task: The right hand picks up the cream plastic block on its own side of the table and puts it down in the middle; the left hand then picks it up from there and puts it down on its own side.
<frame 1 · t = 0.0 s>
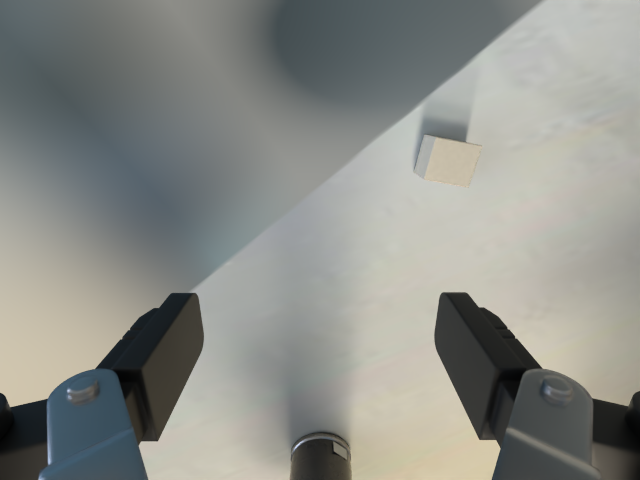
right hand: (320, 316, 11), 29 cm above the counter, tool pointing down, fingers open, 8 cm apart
block: (439, 157, 38), on the counter
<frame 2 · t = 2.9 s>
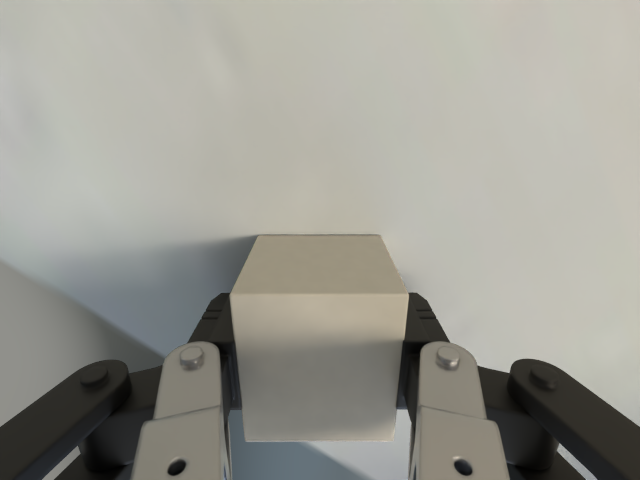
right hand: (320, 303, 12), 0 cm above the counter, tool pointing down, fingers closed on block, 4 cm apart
block: (319, 295, 13), on the counter, touching right hand
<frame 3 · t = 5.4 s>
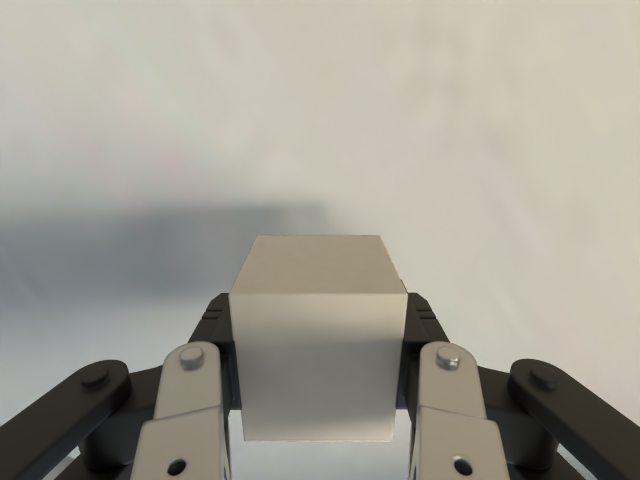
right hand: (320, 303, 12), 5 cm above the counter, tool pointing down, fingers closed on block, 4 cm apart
block: (318, 295, 13), point 5 cm above the counter, touching right hand
when the right hand's fingers open (1 cm above the counter, at t = 8.1 s): block stays where it is, on the counter.
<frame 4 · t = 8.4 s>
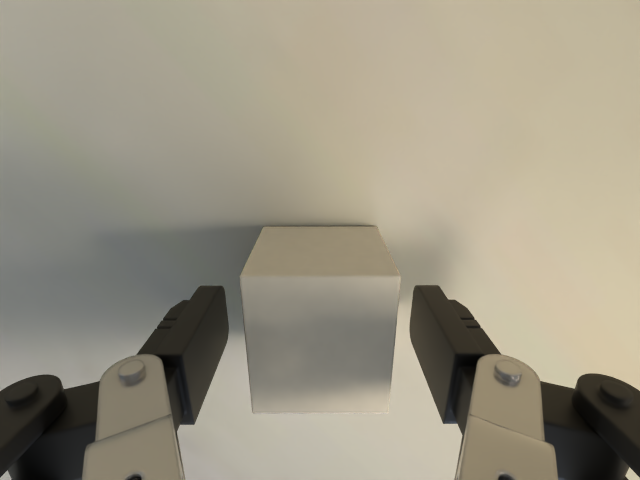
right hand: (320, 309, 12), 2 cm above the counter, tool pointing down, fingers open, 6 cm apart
block: (320, 283, 14), on the counter
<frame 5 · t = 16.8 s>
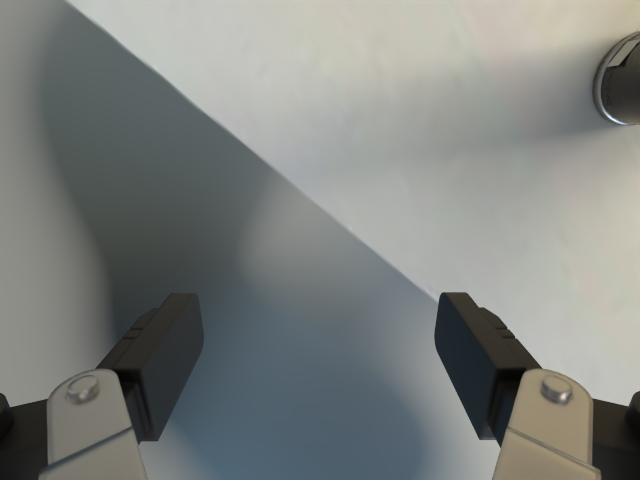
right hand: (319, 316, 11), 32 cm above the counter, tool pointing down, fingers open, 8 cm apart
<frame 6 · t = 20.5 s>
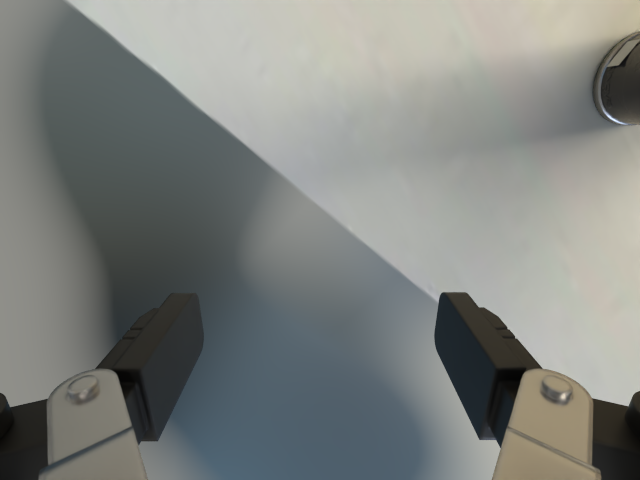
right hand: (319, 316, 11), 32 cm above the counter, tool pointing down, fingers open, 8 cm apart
when the left hand's fingers open (1 cm above the counter, at t = 24.6 s): block stays where it is, on the counter.
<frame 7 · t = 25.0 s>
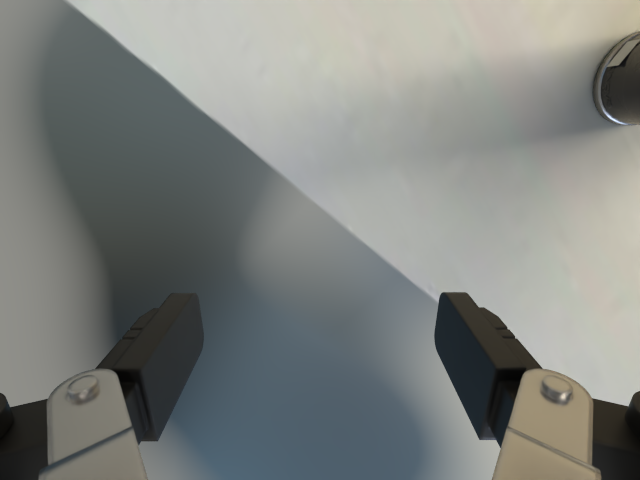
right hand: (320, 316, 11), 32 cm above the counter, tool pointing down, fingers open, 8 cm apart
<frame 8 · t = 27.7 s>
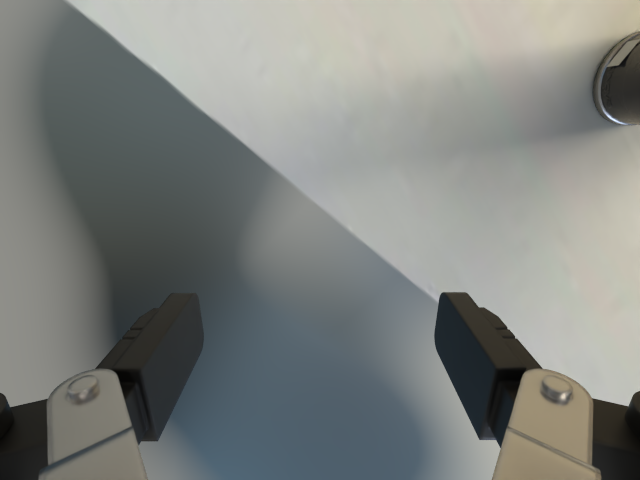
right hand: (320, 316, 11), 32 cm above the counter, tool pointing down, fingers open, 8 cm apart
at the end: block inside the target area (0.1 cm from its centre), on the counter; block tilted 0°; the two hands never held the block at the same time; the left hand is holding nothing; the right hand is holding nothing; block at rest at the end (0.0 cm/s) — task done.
